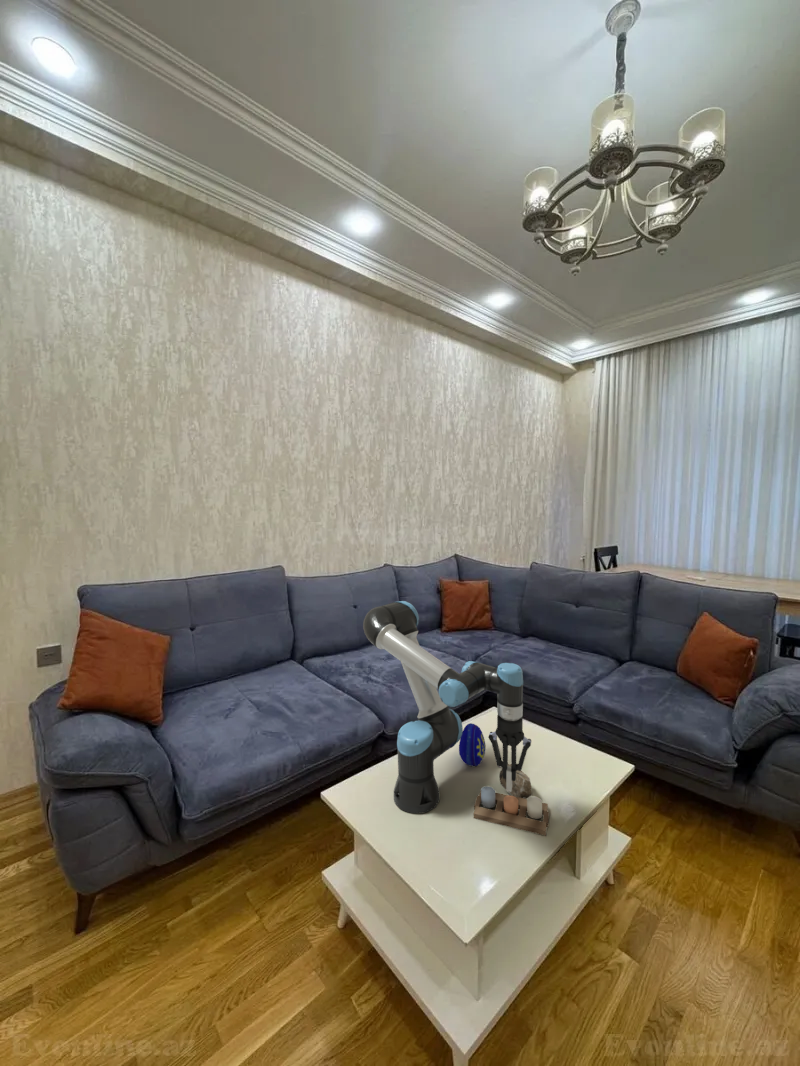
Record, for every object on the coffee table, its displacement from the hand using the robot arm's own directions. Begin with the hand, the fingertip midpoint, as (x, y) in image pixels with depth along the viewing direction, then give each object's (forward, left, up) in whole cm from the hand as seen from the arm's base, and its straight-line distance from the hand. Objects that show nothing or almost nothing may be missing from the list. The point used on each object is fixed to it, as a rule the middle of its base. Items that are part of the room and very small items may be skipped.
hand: (509, 788), depth 133 cm
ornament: (-16, +22, -8) cm, 28 cm away
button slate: (-7, 0, -6) cm, 9 cm away
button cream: (+8, 0, -6) cm, 10 cm away
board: (+1, 0, -8) cm, 8 cm away
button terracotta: (+1, 0, -7) cm, 7 cm away
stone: (0, +11, -8) cm, 14 cm away
